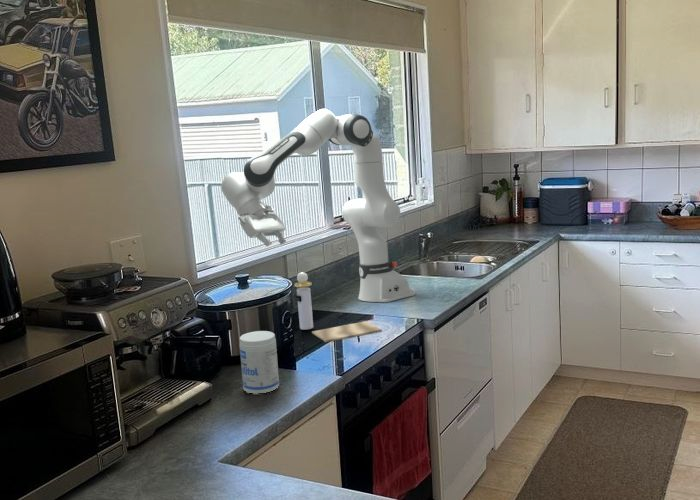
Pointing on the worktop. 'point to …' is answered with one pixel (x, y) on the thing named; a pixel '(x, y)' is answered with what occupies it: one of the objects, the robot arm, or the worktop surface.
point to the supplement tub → (259, 362)
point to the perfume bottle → (304, 301)
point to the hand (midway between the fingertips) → (276, 244)
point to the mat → (346, 331)
